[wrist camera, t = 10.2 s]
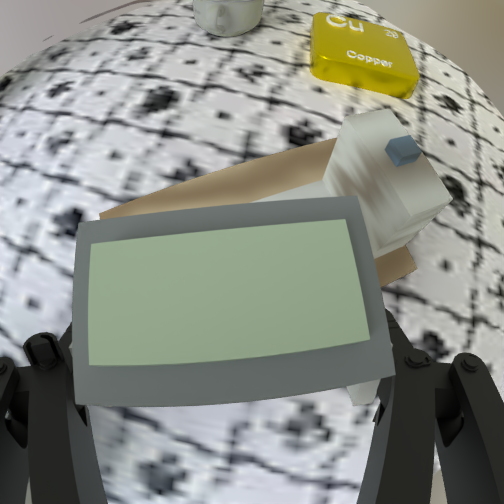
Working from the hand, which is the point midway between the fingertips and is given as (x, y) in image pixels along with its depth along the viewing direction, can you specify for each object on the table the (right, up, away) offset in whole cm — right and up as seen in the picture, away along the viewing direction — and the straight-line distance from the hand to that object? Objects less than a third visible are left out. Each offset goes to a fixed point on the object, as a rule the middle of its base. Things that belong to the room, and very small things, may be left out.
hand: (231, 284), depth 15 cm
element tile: (+17, +30, +26) cm, 43 cm away
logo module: (0, -4, +3) cm, 5 cm away
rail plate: (+1, +2, +14) cm, 14 cm away
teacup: (-3, +36, +27) cm, 45 cm away
